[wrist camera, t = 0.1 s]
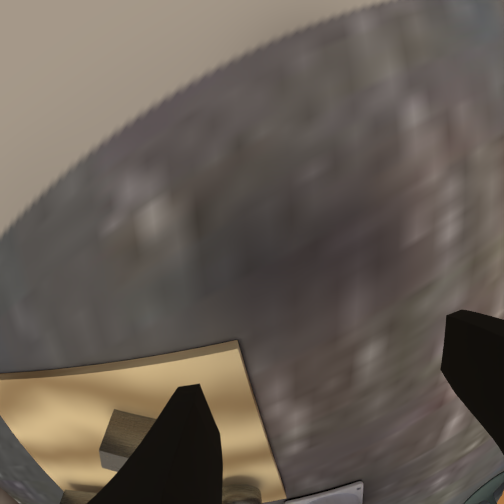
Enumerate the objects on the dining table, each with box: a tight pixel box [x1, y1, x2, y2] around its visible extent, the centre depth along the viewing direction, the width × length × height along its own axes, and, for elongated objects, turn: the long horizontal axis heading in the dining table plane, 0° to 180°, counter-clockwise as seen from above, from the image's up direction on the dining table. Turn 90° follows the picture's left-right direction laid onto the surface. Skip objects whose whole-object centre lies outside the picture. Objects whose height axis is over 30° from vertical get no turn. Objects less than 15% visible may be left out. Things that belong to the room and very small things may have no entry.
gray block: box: [99, 409, 156, 472], centre depth 17 cm, size 2×6×4 cm, turn 78°
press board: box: [0, 340, 286, 503], centre depth 20 cm, size 18×22×1 cm
